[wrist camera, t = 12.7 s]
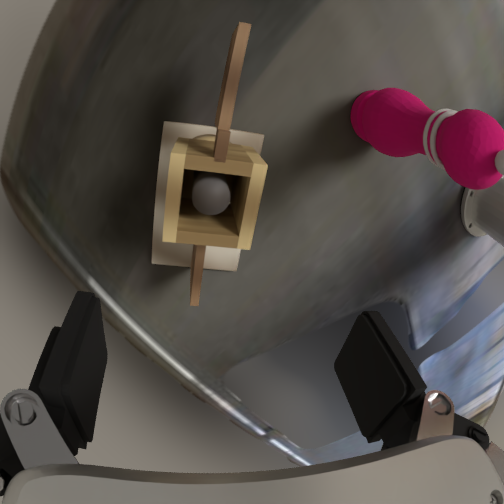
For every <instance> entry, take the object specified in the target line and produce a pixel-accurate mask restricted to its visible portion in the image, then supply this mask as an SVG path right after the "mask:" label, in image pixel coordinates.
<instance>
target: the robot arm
mask: <svg viewBox="0 0 504 504" xmlns="http://www.w3.org/2000/svg"><path fill="white" fill-rule="evenodd" d="M461 218H462V223H463V226H464V227H465V229H466V230H467V231H468V232H469V233H470V234H472V235H473V236H477V237H481V236H484V235H489V236H490V237H492V238H493V239H494V240H495V241H497V242H498V243H499V244H501V245H502V246H503V247H504V175H503V176H502V177H501V178H500V180H499V181H498V182H497V183H496V184H494V185H493V186H491V187H489V188H486V189H482V190H474V189H469V188H465V191H464V194H463V198H462V204H461ZM106 364H107V348H106V342H105V335H104V329H103V321H102V313H101V305H100V299H99V298H96V297H95V295H94V293H91V292H83V291H77V293H76V295H75V297H74V299H73V301H72V304H71V306H70V308H69V310H68V313H67V315H66V317H65V319H64V322H63V324H62V327H54V328H53V329H52V331H51V333H50V335H49V337H48V340H47V342H46V344H45V347H44V349H43V352H42V354H41V357H40V359H39V362H38V364H37V367H36V370H35V372H34V375H33V378H32V380H31V383H30V386H29V389H28V390H27V389H17V390H13V391H12V392H10V393H8V394H7V395H6V396H5V397H4V398H3V400H2V403H1V407H0V496H3V495H4V497H3V501H2V504H504V451H503V450H502V449H500V448H499V447H498V446H497V445H496V444H494V443H493V442H492V441H491V443H489V436H488V434H487V432H486V430H485V429H484V428H483V427H482V426H480V425H478V424H476V423H474V422H472V421H470V420H468V419H466V418H464V417H462V416H460V415H458V414H456V413H454V411H455V410H454V404H453V402H452V400H451V399H450V397H449V396H447V395H446V394H445V393H443V392H441V391H438V390H431V391H429V392H428V393H427V394H425V392H424V391H425V389H426V388H427V386H426V384H425V383H424V381H423V379H422V378H421V376H420V374H419V373H418V371H417V370H416V368H415V367H414V365H413V363H412V362H411V360H410V359H409V357H408V355H407V354H406V352H405V351H404V349H403V348H402V346H401V345H400V343H399V342H398V340H397V339H396V337H395V335H394V334H393V333H392V331H391V329H390V328H389V327H388V325H387V324H386V322H385V320H384V319H383V317H382V316H381V315H380V313H379V312H377V311H364V312H362V314H361V315H359V316H358V317H357V319H356V322H355V323H354V325H353V327H352V329H351V331H350V334H349V335H348V338H347V339H346V342H345V343H344V345H343V347H342V349H341V351H340V353H339V355H338V357H337V359H336V361H335V363H334V368H335V372H336V374H337V376H338V379H339V381H340V383H341V386H342V388H343V390H344V393H345V395H346V397H347V399H348V402H349V404H350V407H351V409H352V411H353V414H354V416H355V418H356V421H357V423H358V426H359V428H360V431H361V433H362V435H363V436H364V437H366V439H367V441H368V443H372V442H376V441H380V440H381V439H382V440H383V445H382V448H381V451H378V452H374V453H370V454H366V455H362V456H357V457H353V458H348V459H343V460H338V461H333V462H328V463H322V464H316V465H310V466H303V467H296V468H288V469H280V470H269V471H257V472H241V473H171V472H155V471H140V470H131V469H122V468H113V467H104V466H95V465H83V464H79V463H78V461H77V460H76V458H75V457H74V456H75V455H77V454H78V448H82V449H86V446H87V442H92V440H93V434H94V427H95V421H96V415H97V409H98V404H99V398H100V393H101V388H102V383H103V378H104V373H105V368H106Z"/></svg>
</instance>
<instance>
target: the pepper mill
mask: <svg viewBox="0 0 504 504" xmlns="http://www.w3.org/2000/svg"><path fill="white" fill-rule="evenodd" d="M351 123H352V127H353V129H354V131H355V132H356V134H357V135H358V136H359V137H360V138H361V139H363V140H364V141H366V142H369V143H370V144H371V145H372V146H373V147H374V148H375V149H376V150H378V151H379V152H381V153H383V154H386V155H389V156H393V157H406V156H411V155H414V154H417V153H421V154H424V155H427V157H428V159H429V160H430V161H431V162H432V163H433V164H434V165H436V166H438V167H440V168H442V169H444V170H446V172H447V173H448V175H449V176H450V177H451V178H452V179H453V180H454V181H455V182H457V183H458V184H460V185H461V186H463V187H466V188H469V189H474V190H482V189H486V188H489V187H491V186H493V185H494V184H496V183H497V182H498V181H499V180H500V178H501V177H502V176H503V175H504V131H503V129H502V127H501V126H500V125H499V123H498V122H497V121H496V120H495V119H494V118H493V117H491V116H490V115H488V114H486V113H484V112H482V111H479V110H473V109H465V110H462V111H459V112H458V111H454V110H450V109H440V110H437V111H436V112H435V111H432V110H431V109H429V108H428V107H427V106H426V105H425V104H424V103H423V102H422V101H421V100H420V99H419V98H417V97H416V96H414V95H413V94H411V93H409V92H407V91H405V90H401V89H397V88H385V89H382V90H379V91H378V90H370V91H366V92H364V93H362V94H361V95H360V96H358V97H357V99H356V100H355V101H354V103H353V106H352V109H351Z"/></svg>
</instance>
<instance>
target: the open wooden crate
mask: <svg viewBox="0 0 504 504" xmlns="http://www.w3.org/2000/svg"><path fill="white" fill-rule="evenodd" d="M250 28H251V24H247V23H242V22H239V24H238V26H237V27H236V29H235V31H234V32H233V34H232V38H231V43H230V47H229V52H228V57H227V62H226V67H225V71H224V76H223V81H222V87H221V92H220V97H219V102H218V108H217V113H216V119H215V126H216V128H217V131H216V137H215V141H208V140H200V139H191V138H182V137H178V139H177V141H176V143H175V145H174V147H173V149H172V151H171V155H170V163H169V172H168V181H167V191H166V202H165V213H164V225H163V239H162V242H173V243H183V244H194V245H204V246H215V247H225V248H236V249H246V250H250V247H251V242H252V238H253V233H254V228H255V224H256V219H257V214H258V210H259V205H260V200H261V196H262V191H263V186H264V182H265V177H266V173H267V168H268V165H267V164H266V163H265V161H264V160H263V159H262V158H261V157H260V155H259V154H258V153H257V152H256V151H255V150H254V148H253V147H250V146H243V145H237V144H230V143H229V140H230V134H231V132H230V125H231V120H232V115H233V110H234V104H235V99H236V94H237V89H238V84H239V79H240V74H241V70H242V65H243V60H244V55H245V51H246V46H247V42H248V37H249V33H250ZM185 169H190V170H199V171H208V172H216V173H224V174H232V175H236V176H235V181H234V187H233V192H232V198H231V203H229V205H228V206H227V208H226V209H225V210H224V211H223V212H221V213H219V214H216V215H205V214H203V213H201V212H199V211H198V210H197V209H196V208H195V207H194V205H193V202H192V199H188V198H182V190H183V182H184V174H185Z"/></svg>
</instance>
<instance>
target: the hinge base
mask: <svg viewBox="0 0 504 504" xmlns="http://www.w3.org/2000/svg"><path fill="white" fill-rule="evenodd" d="M216 131H217V128H216V127H213V126H205V125H197V124H189V123H180V122H170V121H164V126H163V133H162V141H161V149H160V157H159V166H158V176H157V186H156V198H155V210H154V225H153V242H152V264H162V265H172V266H183V267H191V278H190V305H192V306H198V304H199V296H200V288H201V281H202V273H203V268H205V269H216V270H228V271H237V266H238V261H239V256H240V251H241V249H236V248H225V247H215V246H204V245H194V244H183V243H173V242H162V239H163V225H164V213H165V202H166V191H167V181H168V172H169V163H170V155H171V151H172V149H173V147H174V145H175V143H176V141H177V139H178V137H182V138H191V139H200V140H208V141H215V137H216ZM230 132H231V134H230V140H229V143H230V144H237V145H243V146H250V147H253V148H254V150H255V151H256V152H257V153H258V154H259V155H260V153H261V149H262V144H263V139H264V135H263V134H258V133H252V132H246V131H240V130H234V129H230ZM235 176H236V175H232V174H224V173H216V172H208V171H199V170H190V169H185V174H184V182H183V190H182V198H188V199H192V202H193V205H194V207H195V208H196V209H197V210H198V211H199V212H201V213H203V214H205V215H216V214H219V213H221V212H223V211H224V210H225V209H226V208H227V206H228V205H229V203H231V198H232V192H233V187H234V181H235Z"/></svg>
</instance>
